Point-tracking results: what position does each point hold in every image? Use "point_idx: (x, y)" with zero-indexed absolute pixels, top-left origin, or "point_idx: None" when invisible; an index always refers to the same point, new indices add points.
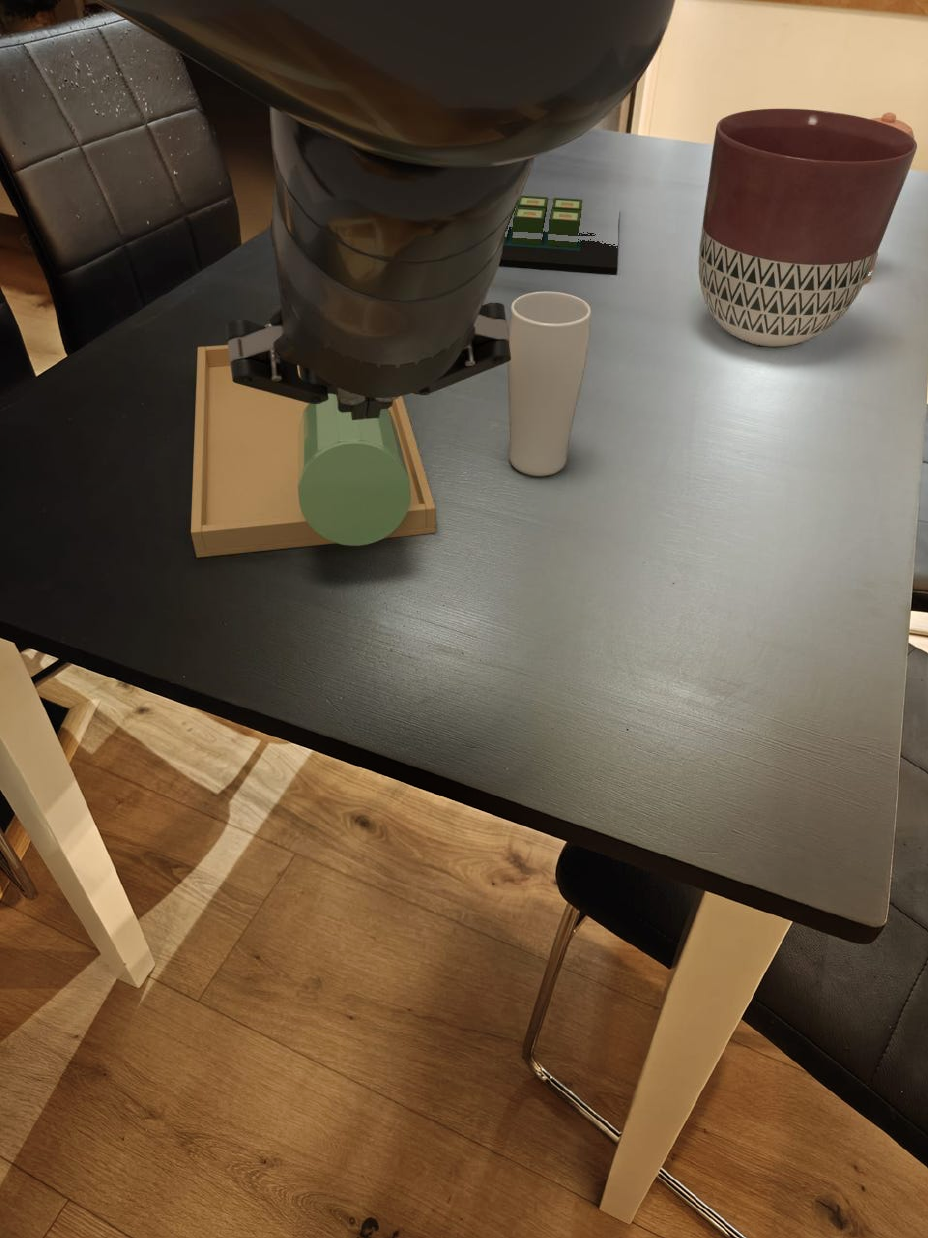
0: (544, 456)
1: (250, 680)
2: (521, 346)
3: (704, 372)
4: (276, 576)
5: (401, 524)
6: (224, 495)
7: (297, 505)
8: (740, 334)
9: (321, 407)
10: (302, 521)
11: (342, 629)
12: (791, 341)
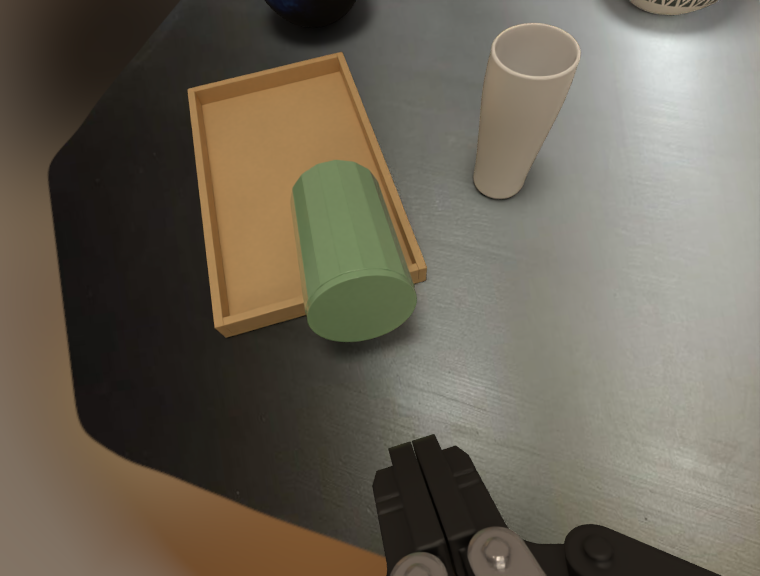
0: (510, 185)
1: (296, 491)
2: (504, 100)
3: (618, 52)
4: (297, 352)
5: None
6: (237, 260)
7: None
8: (648, 7)
9: (310, 198)
10: None
11: (366, 414)
12: (695, 10)
